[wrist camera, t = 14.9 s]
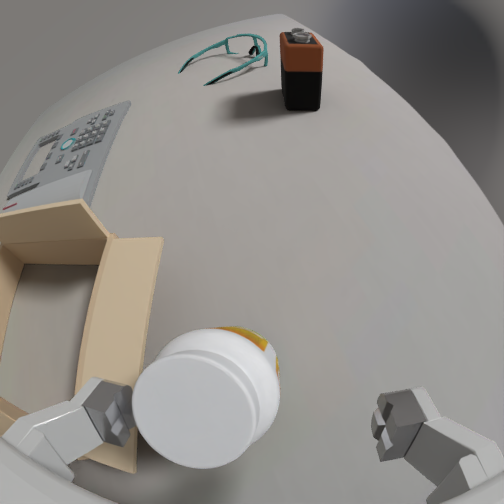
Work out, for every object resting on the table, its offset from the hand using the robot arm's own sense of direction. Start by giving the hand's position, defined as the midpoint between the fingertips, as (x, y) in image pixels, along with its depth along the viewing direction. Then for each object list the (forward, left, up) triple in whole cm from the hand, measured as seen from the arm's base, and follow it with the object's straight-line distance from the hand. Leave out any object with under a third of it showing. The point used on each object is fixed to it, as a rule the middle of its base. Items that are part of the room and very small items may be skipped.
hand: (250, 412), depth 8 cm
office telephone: (+34, +20, -10) cm, 41 cm away
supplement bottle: (+3, +1, -9) cm, 9 cm away
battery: (+31, -15, -9) cm, 36 cm away
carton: (+8, +17, -9) cm, 21 cm away
